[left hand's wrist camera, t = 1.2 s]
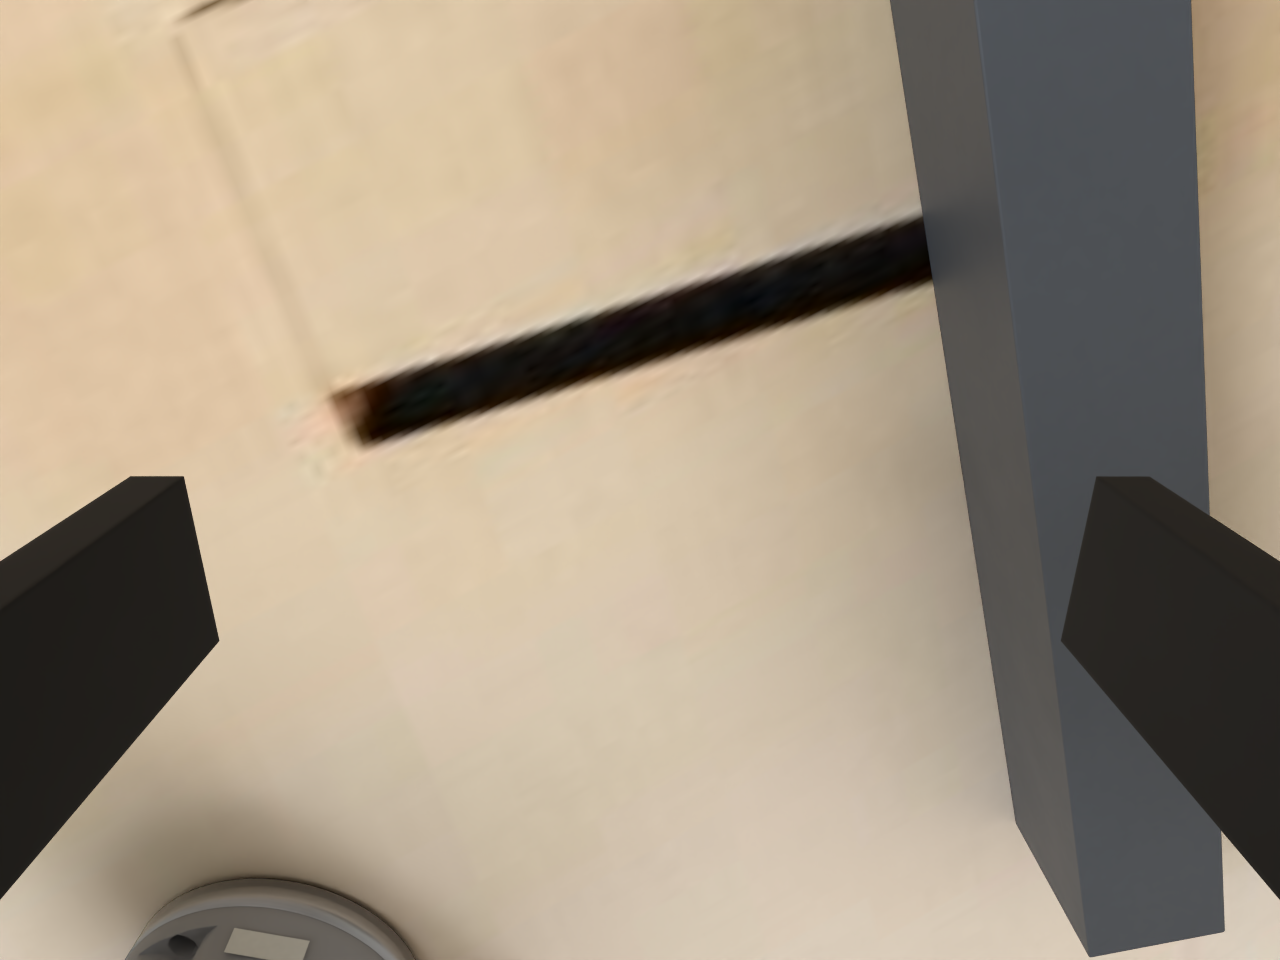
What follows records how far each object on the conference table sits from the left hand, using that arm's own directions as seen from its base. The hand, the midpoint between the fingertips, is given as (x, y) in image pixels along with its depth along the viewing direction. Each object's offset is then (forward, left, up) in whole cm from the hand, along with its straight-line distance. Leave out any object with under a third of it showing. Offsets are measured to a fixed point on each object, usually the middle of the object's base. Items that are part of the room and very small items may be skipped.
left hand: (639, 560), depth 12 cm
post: (+6, -12, -21) cm, 25 cm away
